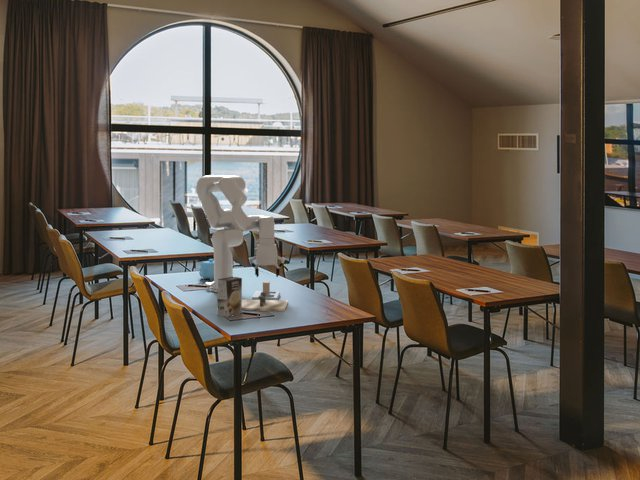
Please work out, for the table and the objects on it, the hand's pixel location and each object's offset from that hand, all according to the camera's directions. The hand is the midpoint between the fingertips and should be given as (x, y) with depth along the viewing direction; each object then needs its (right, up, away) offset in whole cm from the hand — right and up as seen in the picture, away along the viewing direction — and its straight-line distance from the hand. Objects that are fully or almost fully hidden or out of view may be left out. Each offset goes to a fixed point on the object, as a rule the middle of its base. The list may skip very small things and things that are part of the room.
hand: (267, 276), depth 343 cm
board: (-1, -13, -17) cm, 22 cm away
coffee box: (-14, -15, -33) cm, 39 cm away
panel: (-1, -11, +2) cm, 11 cm away
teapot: (-35, -4, +52) cm, 63 cm away
